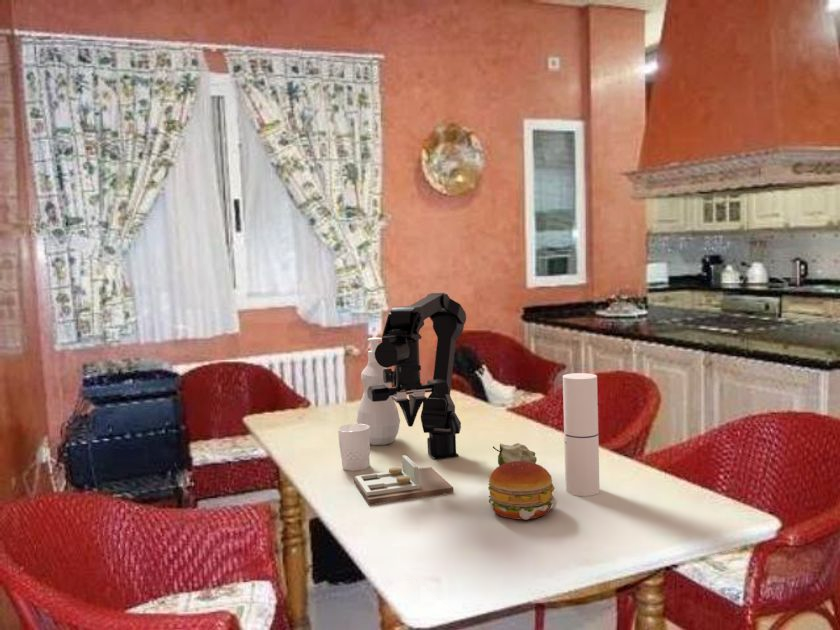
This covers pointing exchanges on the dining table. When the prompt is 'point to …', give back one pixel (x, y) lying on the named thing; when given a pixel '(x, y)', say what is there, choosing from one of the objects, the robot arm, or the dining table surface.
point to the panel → (391, 479)
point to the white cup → (354, 446)
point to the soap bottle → (377, 403)
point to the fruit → (515, 454)
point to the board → (428, 483)
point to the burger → (521, 490)
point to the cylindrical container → (581, 434)
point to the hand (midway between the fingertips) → (410, 426)
